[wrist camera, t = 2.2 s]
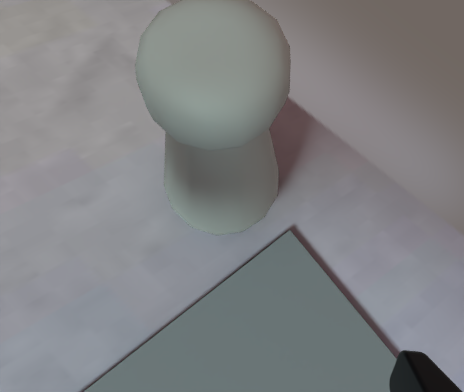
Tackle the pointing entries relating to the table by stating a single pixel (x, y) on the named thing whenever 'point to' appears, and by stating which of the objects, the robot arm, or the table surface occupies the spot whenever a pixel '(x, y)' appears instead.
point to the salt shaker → (216, 107)
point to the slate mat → (262, 336)
